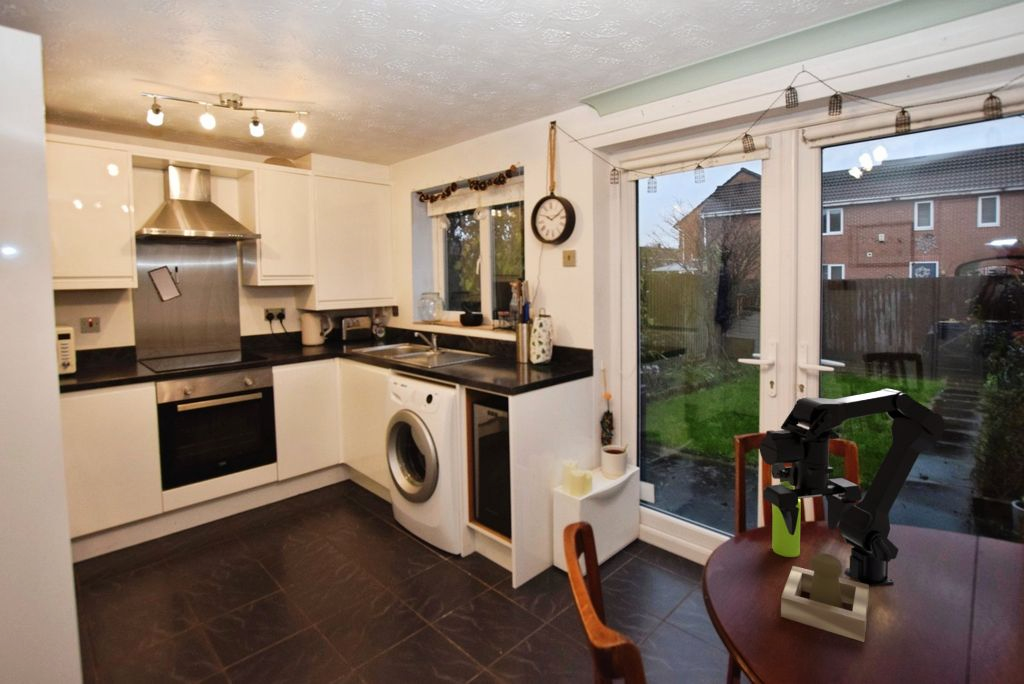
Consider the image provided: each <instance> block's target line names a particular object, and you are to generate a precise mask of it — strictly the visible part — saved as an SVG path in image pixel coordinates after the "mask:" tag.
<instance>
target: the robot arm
mask: <svg viewBox="0 0 1024 684" xmlns="http://www.w3.org/2000/svg"><path fill="white" fill-rule="evenodd" d="M884 413H885V414H886V415H887V416H888V418H890V419H891V420H892V423H891V425H890V426H891V427H890V431H891V437H892V442H891V445H890V447H889V449H888V450H887V453H885V454H886V455H885V456H884V459H883V460H882V462H881V464H880V466H879V467H878V470H877V472H876V473H875V475H874V478H873V480H872V481H871V484H870V485H869V487H868V489H867V491H866V493H865V495H864V496H863V494H862V492H863V491H862V489H861V487H860V486H859V485H858V484H856V483H854V482H852V481H849V480H847V479H846V478H843V477H839V478H830V479H829V474H833V473H834V467H831V466H830V464H829V463H830V461H829V459H830V440H837V439H840V435H839V434H837V432H835V431H834V430H833V429H835V428H837V427H840V426H841V425H842V424H843V423H844V422H845V421H848V420H851V419H857V418H862V417H868V416H873V415H879V414H884ZM800 425H802V426H804V427H802V426H800ZM946 426H947V425H946V423H945V420H944V418H943V416H942V415H941V413H939V412H936V411H933V410H932V409H930V408H928V407H926V406H925V405H923V404H922V403H920V402H918V401H917V400H915V399H914V398H913V397H912V396H910V395H909V394H908V393H906V392H904V391H901V390H896V389H891V388H883V389H880V390H877V391H871V392H868V393H861V394H856V395H850V396H846V397H845V396H844V397H840V398H822V397H802V398H799V399H797V400H796V403H795V404H794V406H793V408H792V409H791V411H790V413H789V414H788V416H786V418H785V420H784V422H783V423H782V425H781V426H780V429H781V430H766V431H765V436H764V437H763V438H762V439H761V441H760V443H759V445H758V446H759V447H758V448H759V454H760V456H761V458H762V461H764V463H765V464H766V465H769V466H771V469H770V470H771V477H772V479H774V480H779V483H780V482H785V481H789V484H790V485H792V486H795V489H792V490H791V489H789V488H787V487H785V486H783V485H782V484H781V485H779V484H773V485H772V484H771V485H766V486H765V487H764V488H763V497H762V498H763V499H764V500H766V501H767V502H769V503H771V504H772V505H773V504H774V505H775V506H777V507H778V508H779V510H780V512H781V514H782V516H783V519H784V521H785V524H786V527H787V529H788V532H789V534H791V535H794V533H795V530H796V524H797V519H798V513H799V508H797V507H796V505H797V504H798V499H800V500H801V499H809V498H817V497H825V500H826V502H827V527H828V529H829V530H830V531H834V530H835V529H836V528H837V526H838V529H839V531H840V534H841V535H842V537H843V539H844V542H845V543H846V544H849V545H850V546H852V547H851V549H850V555H849V564H848V565H849V568H845V569H844V572H845V573H847V574H848V575H849V576H851V578H854V579H855V580H857V582H859V583H863V584H867V585H869V588H870V587H877V586H878V587H879V586H883V585H884V586H885V585H892V584H894V583H895V582H894V581H895V580H894V579H892V578H891V577H889V576H888V574H889V563H890V562H891V560H895V559H896V558H897V555H898V552H899V548H898V547H897V546H896V545H895V544H894V543H893V542H892V541H891V540H889V539H888V538H889V534H890V532H891V525H890V517H889V513H890V511H891V509H892V507H893V505H894V504H895V502H896V499H897V498H898V496H899V494H900V493H901V490H902V488H903V486H904V484H905V482H906V480H907V479H908V477H909V475H910V472H911V471H912V469H913V467H914V466H915V463H916V461H917V460H918V458H919V456H920V455H921V453H923V452H925V451H927V450H928V449H930V448H931V447H933V446H935V445H936V444H937V442H938V441H939V439H940V438H941V437H942V435H943V434H944V432H945V430H946ZM805 427H806V428H805ZM786 464H791V466H790V465H789V466H785V465H786ZM862 496H863V498H862ZM857 501H859V502H857Z"/></svg>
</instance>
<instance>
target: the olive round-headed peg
mask: <svg viewBox="0 0 1024 684" xmlns="http://www.w3.org/2000/svg"><path fill="white" fill-rule="evenodd" d="M810 566H811V569H812V571H814V575H813V580H812V586H811V591H810V593H809V596H808V597H809V598H808V599H809V600H813V601H816V602H820V603H823V604H827V605H831V606H834V607H838V608H841V609H844V607H843V602H842V599H841V592H840V584H839V578H840V576H841V574H842V571H843V566H842V563H841V561H840V560H839V558H837V557H836V556H834V555H831V554H827V553H816V554H814V555H813V556H812V557H811V561H810Z"/></svg>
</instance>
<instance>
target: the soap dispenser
mask: <svg viewBox="0 0 1024 684" xmlns="http://www.w3.org/2000/svg"><path fill="white" fill-rule="evenodd" d="M781 484H782V485H783V486H785V487H787V488H789V489H791V490H792V489H796V486H792V485H790V484H789V481H785V482H780V481H779V483H778V485H781ZM801 502H802V500H801V499H798V504H797V505H796V507H797V508H799V513H798V519H797V524H796V530H795V533H794V535H791V534H789V532H788V529H787V527H786V524H785V521H784V519H783V516H782V514H781V512H780V510H779V508H778V507H777V506H775V505H774V504H772V531H771V532H772V533H771V534H772V535H771V536H772V537H771V538H772V540H771V541H772V542H771V549H773V550H772V552H774V553H775V554H777V555H779V556H782V557H786V558H795V557H799V556H800V554H801V553H800V552H801V551H800V550H801V512H802V511H801V508H802V507H801V506H802V505H801Z"/></svg>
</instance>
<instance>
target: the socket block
mask: <svg viewBox="0 0 1024 684" xmlns="http://www.w3.org/2000/svg"><path fill="white" fill-rule="evenodd" d="M813 575H814V571H813V569H812V570H811V569H806V568H802V567H799V566H794V565H792V567H791V570H790V573H789V575H788V578H787V580H786V583H785V585H784V588H783V591H782V594H781V596H780V617H781V618H785V619H788V620H790V621H794V622H798V623H799V624H803V625H806V626H810V627H814V628H816V629H819V630H820V629H821V630H822V631H823V630H824V631H826V632H830V633H833V634H836V635H839V636H843V637H846V638H850V639H854V640H856V641H859V642H863V643H864V642H865V640H866V639H865V637H866V629H867V628H866V627H867V620H868V611H869V610H868V609H869V595H870V594H869V589H870V587H869V585H867V584H863V583H861V582H860V581H855V580H850V579H846V578H842V577H839V584H840V592H841V599H842V603H844V604H848V605H852V610H848V609H845V608H843V609H841V608H838V607H834V606H831V605H827V604H823V603H820V602H816V601H813V600H809V598H806V597H802V596H801V594H802V592H805V593H808V594H810V591H811V586H812V580H813Z"/></svg>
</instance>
